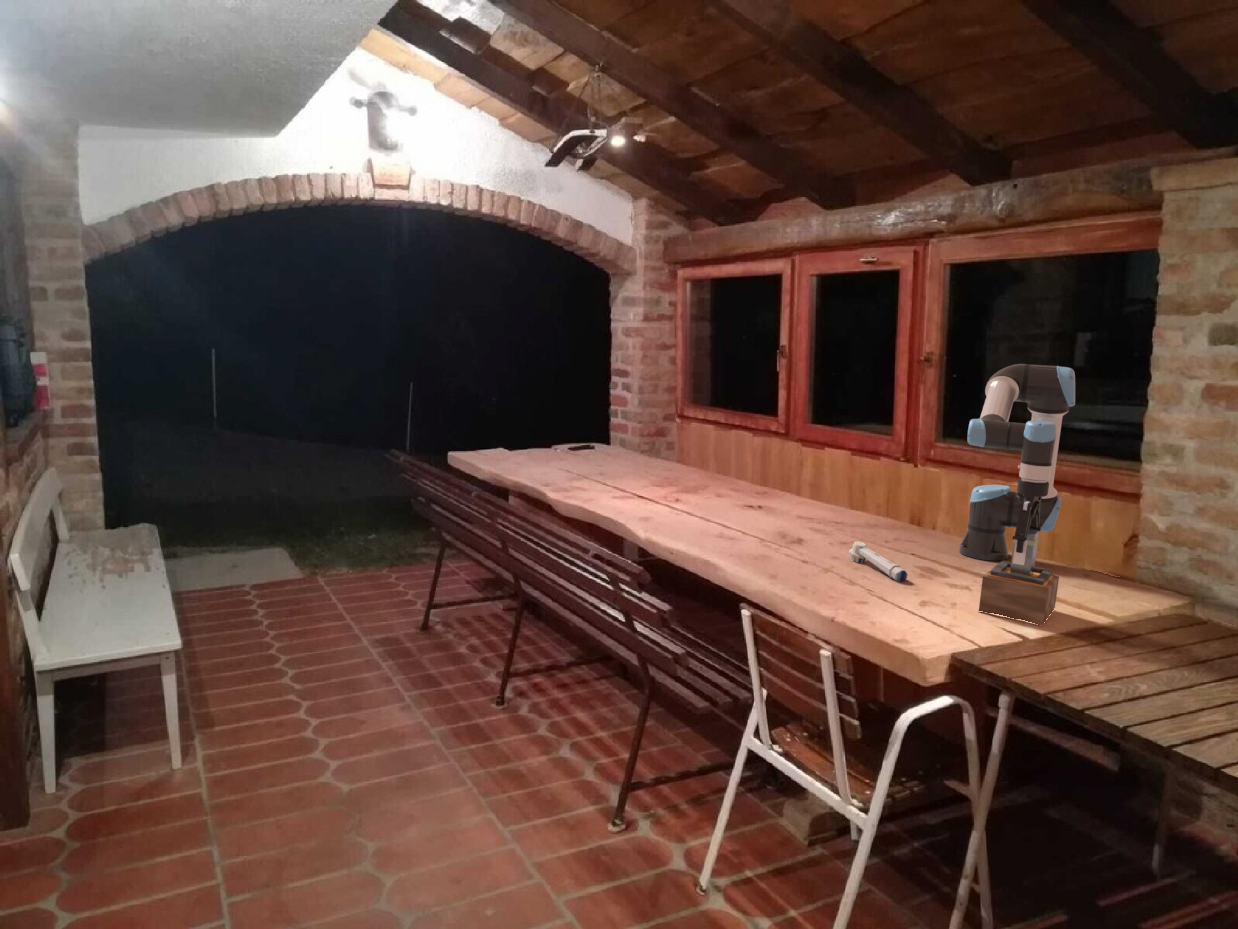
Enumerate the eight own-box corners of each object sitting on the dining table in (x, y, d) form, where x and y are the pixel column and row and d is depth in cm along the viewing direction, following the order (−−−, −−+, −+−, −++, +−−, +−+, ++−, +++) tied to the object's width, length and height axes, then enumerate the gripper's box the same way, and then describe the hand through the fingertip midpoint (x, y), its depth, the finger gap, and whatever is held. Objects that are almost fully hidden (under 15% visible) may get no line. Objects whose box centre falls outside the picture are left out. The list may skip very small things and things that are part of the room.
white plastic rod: (895, 570, 267) (848, 537, 289) (891, 591, 269) (844, 556, 292) (910, 569, 269) (862, 536, 291) (906, 590, 271) (858, 555, 293)
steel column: (1013, 569, 249) (1019, 527, 247) (1034, 573, 246) (1039, 530, 244) (1009, 574, 245) (1014, 530, 243) (1029, 578, 242) (1035, 534, 240)
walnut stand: (993, 597, 258) (998, 558, 256) (1054, 610, 249) (1060, 570, 247) (978, 612, 246) (983, 571, 243) (1042, 626, 237) (1048, 583, 234)
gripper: (1028, 471, 252) (1018, 547, 256) (1008, 484, 233) (998, 565, 237) (1058, 475, 248) (1047, 552, 252) (1039, 488, 229) (1028, 571, 233)
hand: (1023, 559), depth 245 cm, fingers open, 11 cm apart
